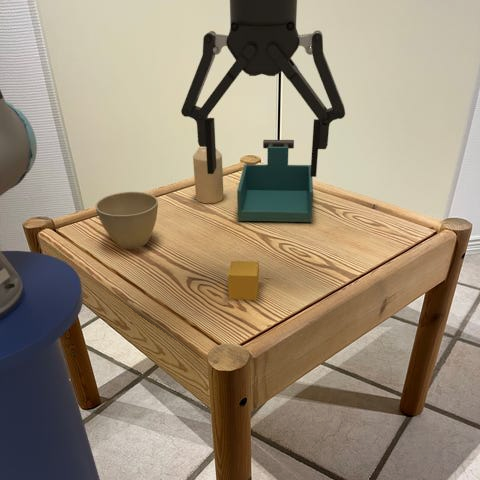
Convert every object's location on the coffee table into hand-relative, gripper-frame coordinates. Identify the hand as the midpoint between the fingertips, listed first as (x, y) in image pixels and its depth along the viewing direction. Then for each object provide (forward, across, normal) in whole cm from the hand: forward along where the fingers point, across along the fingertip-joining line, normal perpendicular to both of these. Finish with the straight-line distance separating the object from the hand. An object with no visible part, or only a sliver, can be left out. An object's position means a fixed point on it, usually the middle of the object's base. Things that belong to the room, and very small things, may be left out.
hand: (262, 172), depth 69 cm
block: (+16, +2, +5) cm, 17 cm away
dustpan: (+16, 0, -27) cm, 31 cm away
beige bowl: (+16, +23, -9) cm, 29 cm away
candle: (+16, +13, -29) cm, 35 cm away
